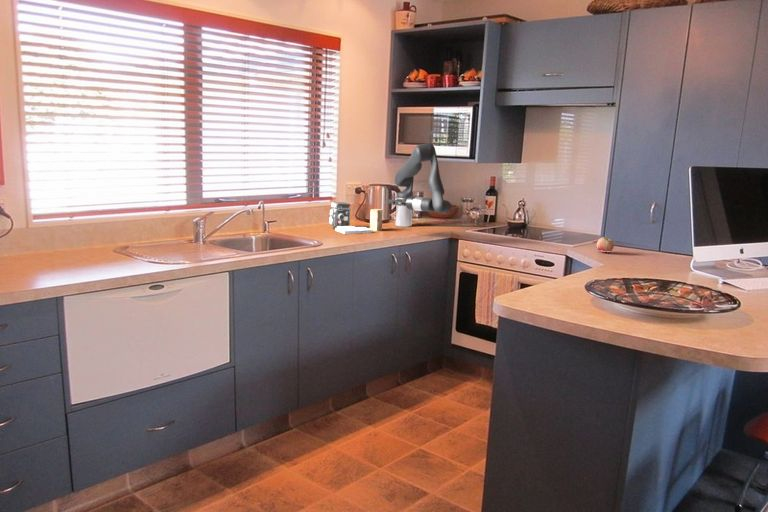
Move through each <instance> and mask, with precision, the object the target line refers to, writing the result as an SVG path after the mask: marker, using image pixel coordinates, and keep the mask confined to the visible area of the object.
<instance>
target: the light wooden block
mask: <svg viewBox="0 0 768 512" xmlns="http://www.w3.org/2000/svg"><path fill="white" fill-rule="evenodd" d="M383 213H384V209H380V208H379V209H378V208H371V209H370V213H369V214H370V216H369V217H370V218H369V229H372V230H373V232H380V231H383V216H384V215H383Z"/></svg>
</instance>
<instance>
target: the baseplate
mask: <svg viewBox="0 0 768 512" xmlns="http://www.w3.org/2000/svg"><path fill="white" fill-rule="evenodd" d="M334 229H335V232H338V233H341V234H343V235H348V234H349V235H351V234H369V233H370V234H372V233H374V231H373V230H372V229H370V227H369V228H367V227H365V226H353V225H350V226H339V227H337V228H334Z"/></svg>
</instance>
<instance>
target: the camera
mask: <svg viewBox="0 0 768 512" xmlns="http://www.w3.org/2000/svg"><path fill="white" fill-rule="evenodd" d="M330 207H331V208H330V210H329V214H328V218H329V224H330V226H332V228H334V229H335V228H337V227H339V226H351V224H350V223H351V222H350V221H351V208H350V207H351V203H348V202H343V201H342V202H341V201H333V202H331V203H330Z"/></svg>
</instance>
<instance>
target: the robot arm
mask: <svg viewBox="0 0 768 512" xmlns="http://www.w3.org/2000/svg"><path fill="white" fill-rule="evenodd" d="M428 161H429V162H430V167H431V169H430V173H429V177H428V187H429V190H430V193H431V198H428V197H427V198H426V197H425V198H424V197H421V196H420V197H419V196H413V189H414V181H415V180H414V177H415V176H416V175H418V174H419V173H420V171H421V170H422V167H423V162H428ZM439 168H440V167H439V162H438V157H437V151H436V148H435V145H434V144H433V143H432V142H428V143H427V142H426V143H421V144H418V145H416V146H414V148H413V149H412V152H411V155H410V156H409V158H408V159H407V160H406V161H405V163H404V165H403V166H402V167H401V168H400V169H399V170H398V171H397V172H396V174H395V176H394V183H395V185H396V186H398V187H403V188H404V190H402V191H399V192H396V199H388V200H387V204H389V205H392V206H395V207H396V208H395V210H396V211H395V226H396V227H405V228H406V227H412V224H413V211H417V212H429V213H430V212H434V213H437V214H448V213H449V212H450V211H451V210H452V203H451V202H450V201H449V200H445V199H444V197H443V196H444V195H445V188H444V185H443V181H442V179H441V174H440V169H439Z"/></svg>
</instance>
